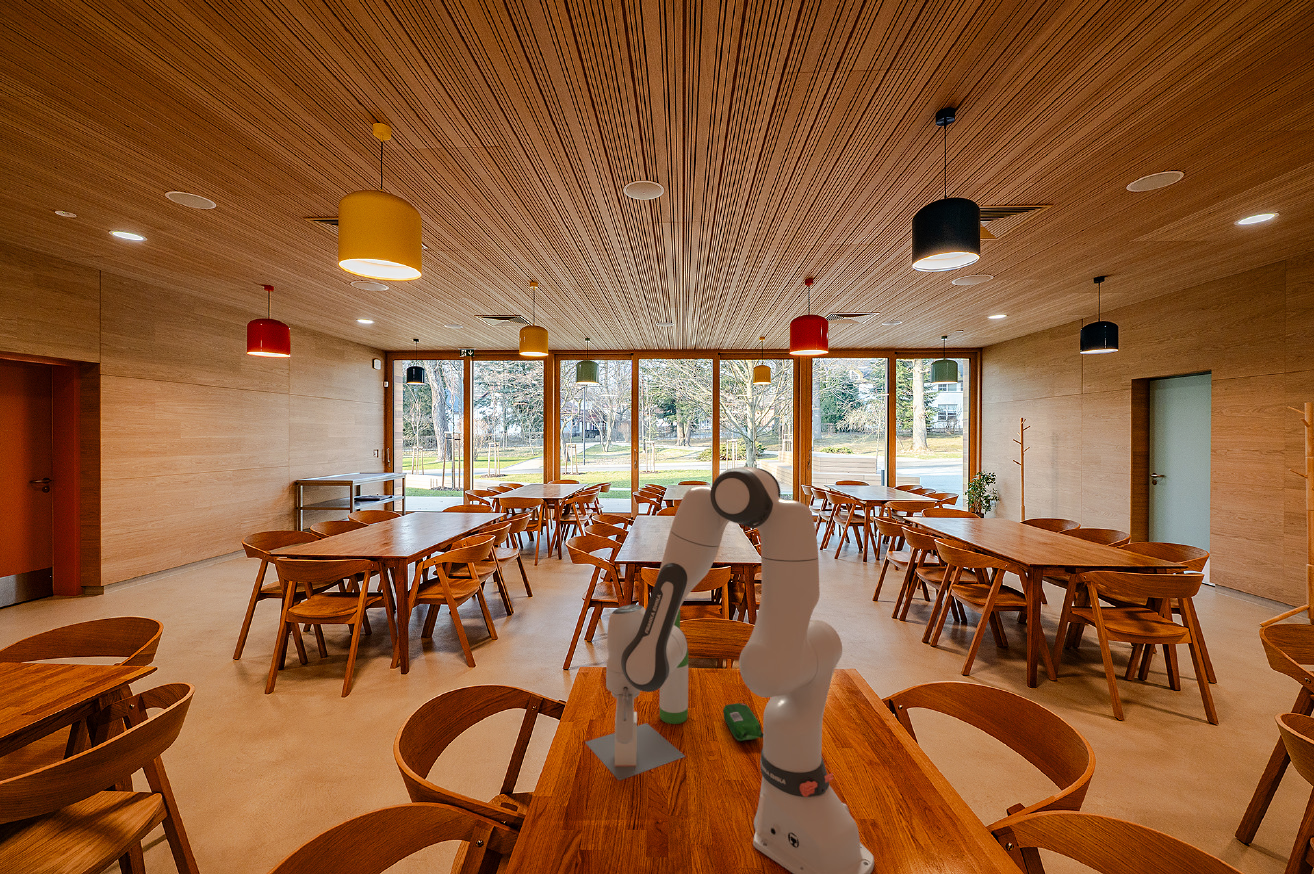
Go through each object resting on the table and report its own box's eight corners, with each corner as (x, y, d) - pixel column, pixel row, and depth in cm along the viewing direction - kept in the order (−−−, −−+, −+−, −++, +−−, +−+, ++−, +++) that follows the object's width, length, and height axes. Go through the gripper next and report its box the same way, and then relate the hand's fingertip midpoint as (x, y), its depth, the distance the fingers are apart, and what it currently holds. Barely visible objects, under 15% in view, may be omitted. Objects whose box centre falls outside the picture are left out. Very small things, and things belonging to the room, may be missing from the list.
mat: (685, 758, 127) (685, 756, 127) (618, 783, 117) (618, 780, 117) (646, 725, 142) (646, 723, 142) (584, 744, 133) (584, 742, 133)
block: (636, 766, 123) (636, 722, 123) (614, 766, 122) (615, 722, 123) (636, 754, 128) (636, 711, 128) (615, 754, 127) (616, 711, 128)
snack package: (737, 750, 131) (737, 728, 131) (720, 718, 147) (720, 698, 147) (764, 748, 132) (765, 727, 132) (745, 716, 148) (745, 697, 148)
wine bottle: (656, 724, 143) (657, 611, 143) (662, 710, 150) (664, 603, 151) (684, 728, 141) (686, 614, 142) (690, 714, 148) (691, 605, 149)
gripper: (640, 700, 110) (639, 768, 109) (639, 660, 130) (638, 717, 130) (609, 700, 109) (608, 768, 109) (613, 660, 130) (612, 717, 129)
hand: (624, 740), depth 120 cm, fingers closed
